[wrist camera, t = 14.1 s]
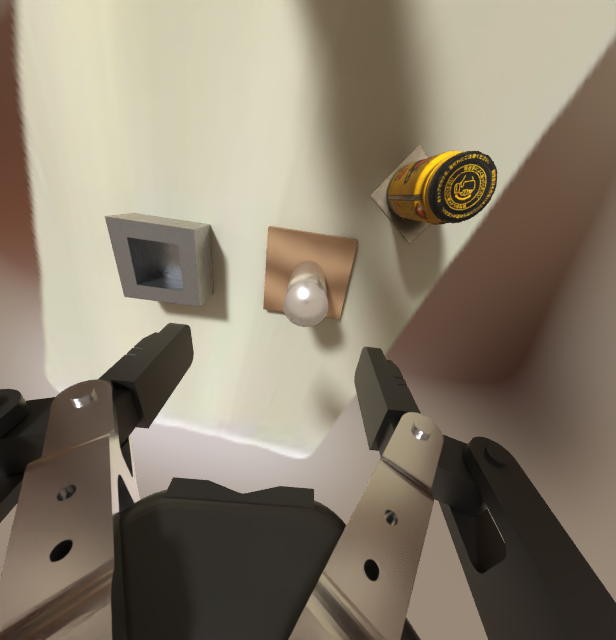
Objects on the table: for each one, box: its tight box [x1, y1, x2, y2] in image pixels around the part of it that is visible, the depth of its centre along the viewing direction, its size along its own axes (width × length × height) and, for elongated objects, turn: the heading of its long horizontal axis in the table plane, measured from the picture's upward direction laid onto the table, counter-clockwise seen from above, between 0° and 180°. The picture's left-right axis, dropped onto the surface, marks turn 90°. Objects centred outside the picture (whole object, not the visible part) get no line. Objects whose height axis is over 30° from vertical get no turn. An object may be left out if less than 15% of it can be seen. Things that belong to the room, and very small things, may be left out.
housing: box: [105, 213, 214, 307], centre depth 32 cm, size 10×10×5 cm
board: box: [263, 226, 358, 319], centre depth 34 cm, size 12×12×1 cm
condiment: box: [371, 144, 497, 243], centre depth 25 cm, size 7×8×12 cm
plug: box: [283, 261, 328, 327], centre depth 29 cm, size 5×5×10 cm
